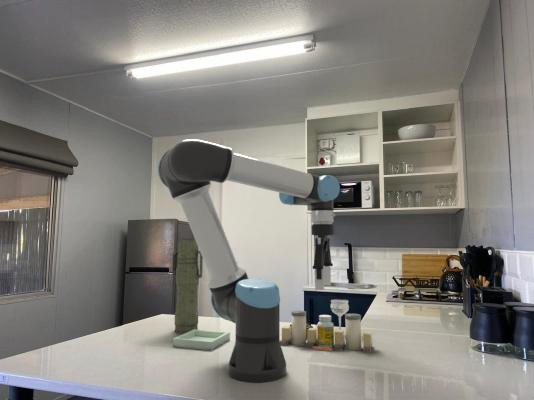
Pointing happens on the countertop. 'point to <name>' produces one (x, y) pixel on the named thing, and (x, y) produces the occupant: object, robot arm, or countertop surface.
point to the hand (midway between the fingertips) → (323, 287)
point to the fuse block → (313, 340)
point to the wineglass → (339, 309)
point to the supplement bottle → (325, 331)
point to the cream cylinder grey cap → (298, 327)
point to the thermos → (186, 285)
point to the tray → (201, 339)
